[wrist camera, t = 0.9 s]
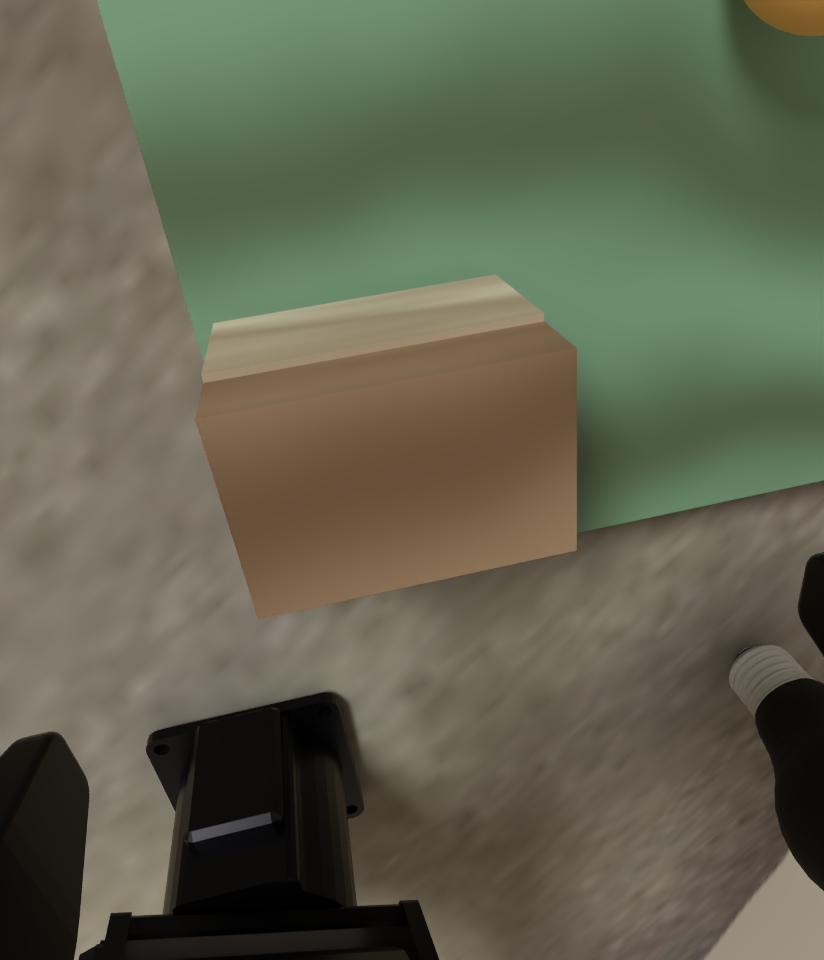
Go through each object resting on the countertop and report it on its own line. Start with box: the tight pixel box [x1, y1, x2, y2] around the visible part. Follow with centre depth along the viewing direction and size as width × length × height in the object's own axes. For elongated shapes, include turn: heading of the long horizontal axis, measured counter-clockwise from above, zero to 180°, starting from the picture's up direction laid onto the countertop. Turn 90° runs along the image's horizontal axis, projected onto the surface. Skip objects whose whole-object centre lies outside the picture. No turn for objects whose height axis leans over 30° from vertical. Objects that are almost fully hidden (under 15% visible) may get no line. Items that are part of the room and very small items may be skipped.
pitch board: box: [97, 0, 824, 533], centre depth 16 cm, size 18×22×2 cm
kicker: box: [195, 274, 577, 619], centre depth 14 cm, size 4×6×5 cm
